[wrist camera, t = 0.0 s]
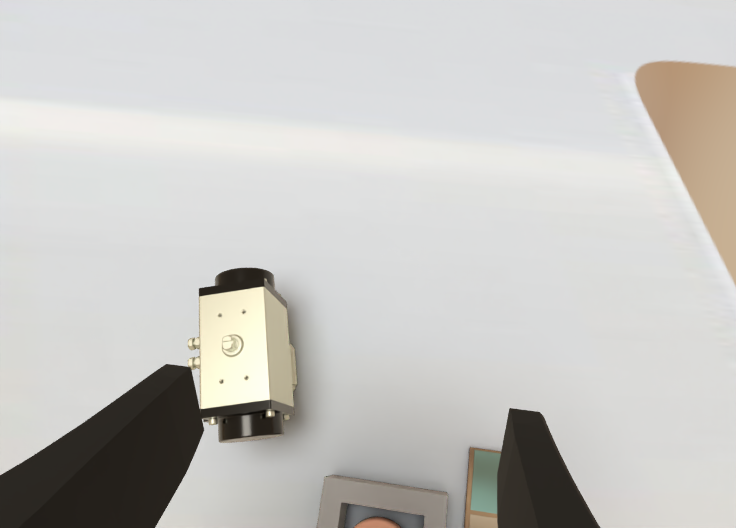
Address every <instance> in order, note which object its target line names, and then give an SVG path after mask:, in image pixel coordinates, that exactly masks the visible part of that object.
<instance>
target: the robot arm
mask: <svg viewBox="0 0 736 528" xmlns="http://www.w3.org/2000/svg"><path fill="white" fill-rule="evenodd" d="M203 432H204V427H203V423H202V418H201V413H200V409H199V404H198V399H197V395H196V390H195V385H194V380H193V376H192V371H191V367H185V366H177V365H169V364H166V365H164V366H163V367H161V368H160V369H158V370H157V371H155V372H154V373H153V374H151V375H150V376H148V377H147V378H146V379H144V380H143V381H141V382H140V383H139V384H137V385H136V386H134V387H133V388H132V389H130V390H129V391H128V392H126V393H125V394H123V395H122V396H121V397H119V398H118V399H116V400H115V401H114V402H112V403H111V404H109V405H108V406H107V407H105V408H104V409H102V410H101V411H100V412H98V413H97V414H95V415H94V416H92V417H91V418H90V419H88V420H87V421H85V422H84V423H82V424H81V425H80V426H78V427H77V428H75V429H73V430H72V431H70V432H69V433H67V434H66V435H64V436H63V437H61V438H60V439H58V440H57V441H55V442H54V443H52V444H51V445H49V446H47V447H46V448H44V449H43V450H41V451H40V452H38V453H37V454H35V455H34V456H32V457H30V458H29V459H27V460H25V461H24V462H22V463H21V464H19V465H17V466H15V467H14V468H12V469H10V470H9V471H7V472H5V473H4V474H2V475H0V528H155V527H156V525H157V523H158V521H159V520H160V518H161V516H162V514H163V513H164V511H165V509H166V508H167V506H168V504H169V502H170V501H171V499H172V497H173V495H174V494H175V492H176V490H177V488H178V486H179V485H180V483H181V481H182V479H183V478H184V476H185V474H186V472H187V470H188V468H189V465H190V463H191V461H192V459H193V456H194V454H195V452H196V449H197V447H198V444H199V442H200V439H201V437H202V434H203ZM497 524H498V528H600V527H599V525H598V523H597V522H596V520H595V518H594V516H593V515H592V513H591V511H590V509H589V508H588V506H587V504H586V502H585V500H584V499H583V497H582V495H581V493H580V491H579V490H578V488H577V486H576V484H575V482H574V480H573V479H572V477H571V475H570V473H569V471H568V469H567V467H566V465H565V463H564V461H563V459H562V457H561V455H560V453H559V451H558V448H557V446H556V444H555V442H554V440H553V438H552V435H551V433H550V431H549V428H548V426H547V424H546V421H545V418H544V417H543V415H542V414H541V413H540V412H535V411H527V410H519V409H512V408H510V409H509V414H508V419H507V425H506V430H505V435H504V440H503V446H502V451H501V456H500V461H499V467H498V472H497Z"/></svg>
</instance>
